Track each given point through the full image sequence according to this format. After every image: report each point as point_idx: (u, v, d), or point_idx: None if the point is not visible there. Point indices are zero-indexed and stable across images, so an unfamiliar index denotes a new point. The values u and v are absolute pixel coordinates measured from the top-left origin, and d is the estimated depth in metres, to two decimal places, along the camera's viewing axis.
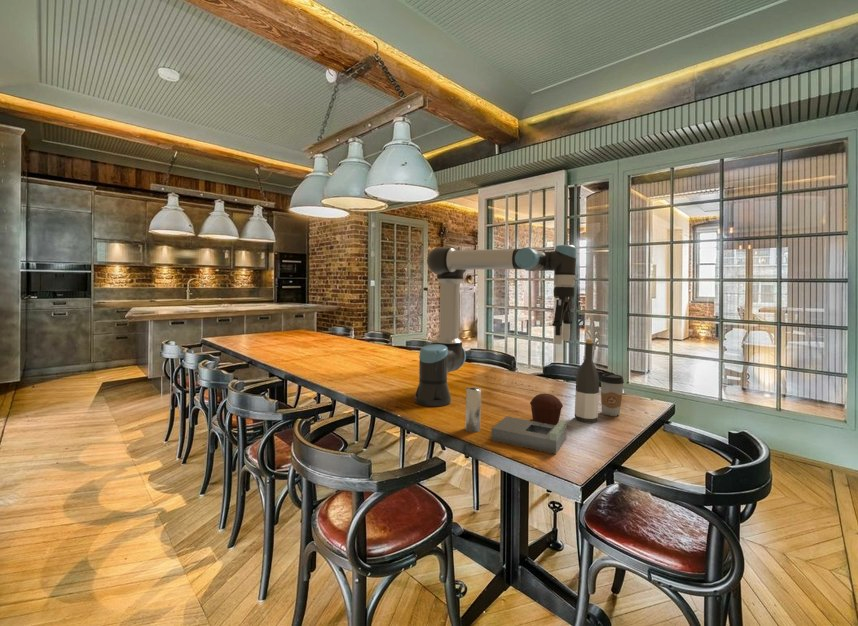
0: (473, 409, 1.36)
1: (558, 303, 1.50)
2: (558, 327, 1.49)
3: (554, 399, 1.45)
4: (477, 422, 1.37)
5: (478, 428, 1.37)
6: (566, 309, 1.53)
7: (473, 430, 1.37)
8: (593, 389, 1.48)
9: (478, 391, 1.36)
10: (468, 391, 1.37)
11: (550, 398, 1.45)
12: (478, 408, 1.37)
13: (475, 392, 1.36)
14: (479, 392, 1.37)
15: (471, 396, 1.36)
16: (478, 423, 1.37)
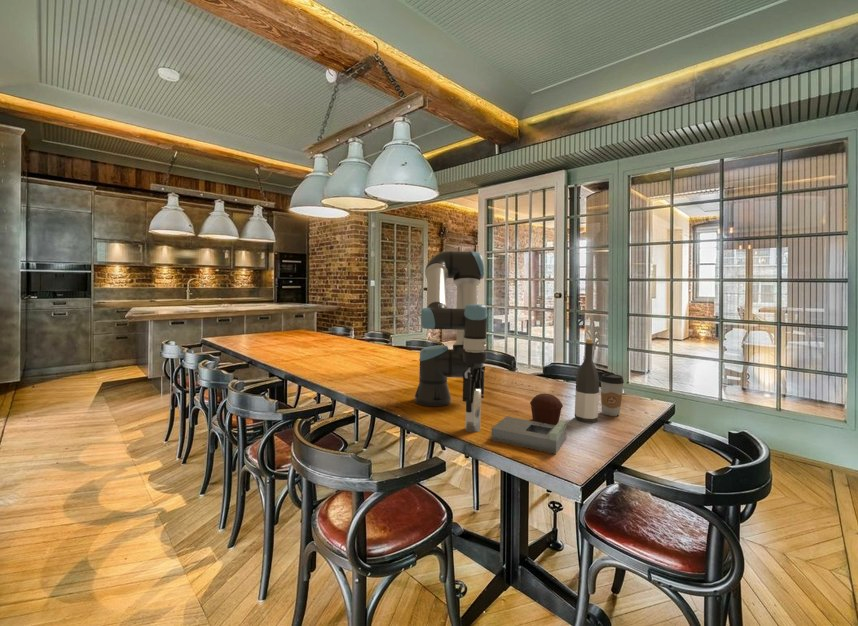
0: None
1: (465, 377, 1.33)
2: (468, 403, 1.35)
3: (554, 399, 1.45)
4: (477, 422, 1.37)
5: (478, 428, 1.37)
6: (476, 378, 1.36)
7: (473, 430, 1.37)
8: (593, 389, 1.48)
9: (478, 391, 1.36)
10: None
11: (550, 398, 1.45)
12: (478, 408, 1.37)
13: (475, 392, 1.36)
14: (479, 392, 1.37)
15: None
16: (478, 423, 1.37)
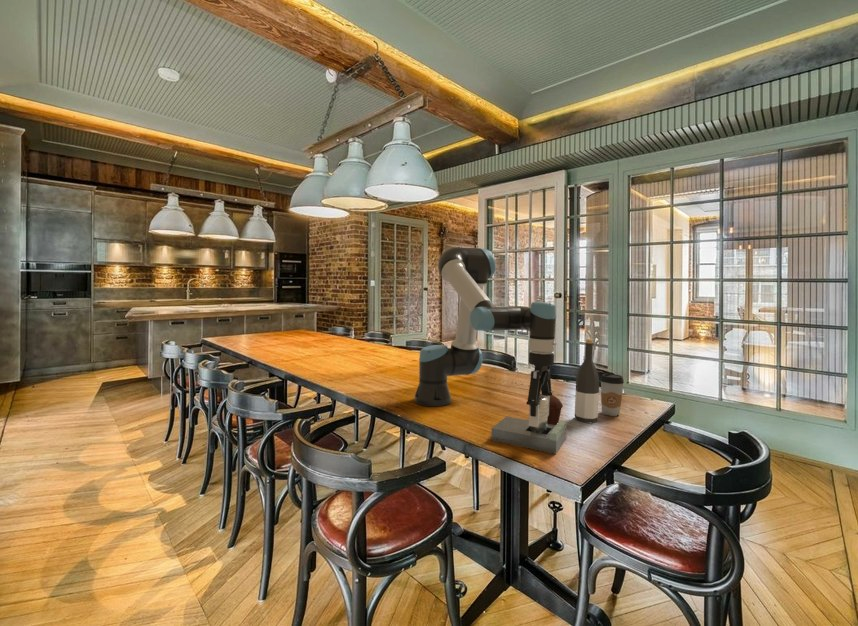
0: (540, 420, 1.26)
1: (533, 376, 1.22)
2: (533, 407, 1.21)
3: (554, 399, 1.45)
4: None
5: None
6: (543, 382, 1.25)
7: None
8: (593, 389, 1.48)
9: (546, 401, 1.26)
10: None
11: (550, 398, 1.45)
12: (545, 419, 1.27)
13: (543, 402, 1.26)
14: (546, 402, 1.27)
15: None
16: None
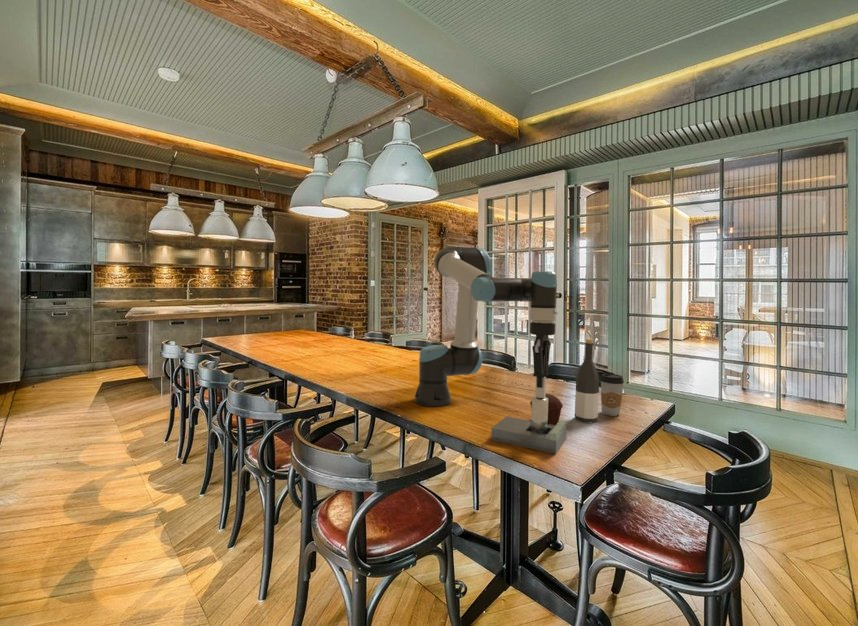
0: (540, 420, 1.26)
1: (535, 351, 1.22)
2: (540, 378, 1.26)
3: (554, 399, 1.45)
4: None
5: None
6: (546, 351, 1.25)
7: None
8: (593, 389, 1.48)
9: (546, 401, 1.26)
10: (535, 401, 1.27)
11: (550, 398, 1.45)
12: (545, 419, 1.27)
13: (543, 402, 1.26)
14: (547, 402, 1.26)
15: (538, 406, 1.26)
16: None
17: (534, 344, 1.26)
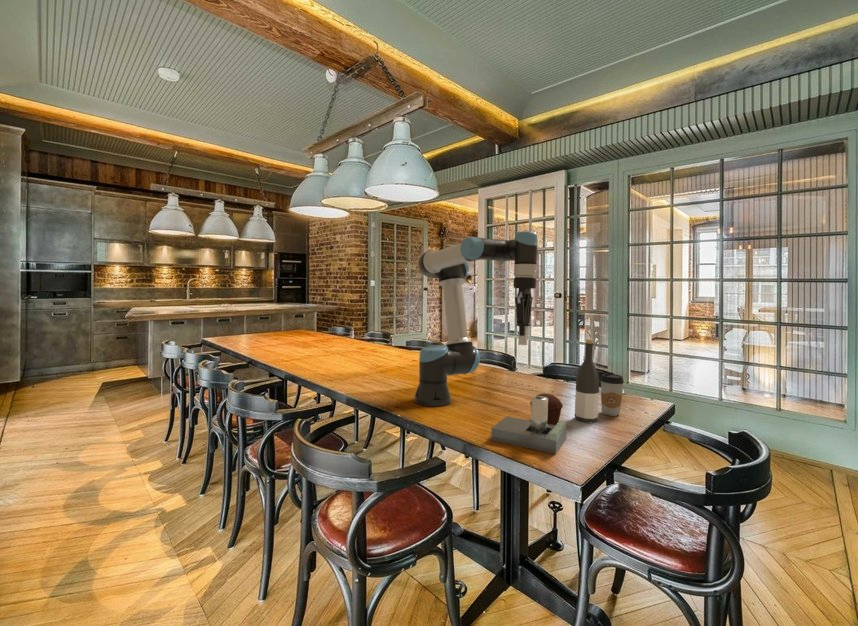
0: (540, 420, 1.26)
1: (517, 302, 1.38)
2: (522, 327, 1.41)
3: (554, 399, 1.45)
4: None
5: None
6: (528, 303, 1.41)
7: None
8: (593, 389, 1.48)
9: (546, 401, 1.26)
10: (534, 400, 1.27)
11: (550, 398, 1.45)
12: (545, 419, 1.27)
13: (543, 402, 1.26)
14: (546, 402, 1.27)
15: (538, 405, 1.26)
16: None
17: (517, 297, 1.42)
